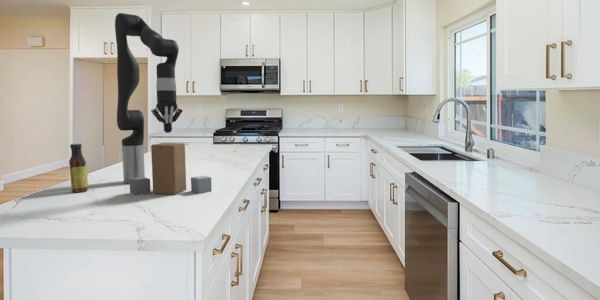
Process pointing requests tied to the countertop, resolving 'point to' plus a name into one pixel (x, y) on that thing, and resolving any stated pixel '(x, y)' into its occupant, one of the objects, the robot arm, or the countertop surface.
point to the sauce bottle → (78, 169)
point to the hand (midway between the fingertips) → (167, 132)
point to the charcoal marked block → (140, 186)
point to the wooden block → (168, 168)
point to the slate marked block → (201, 184)
